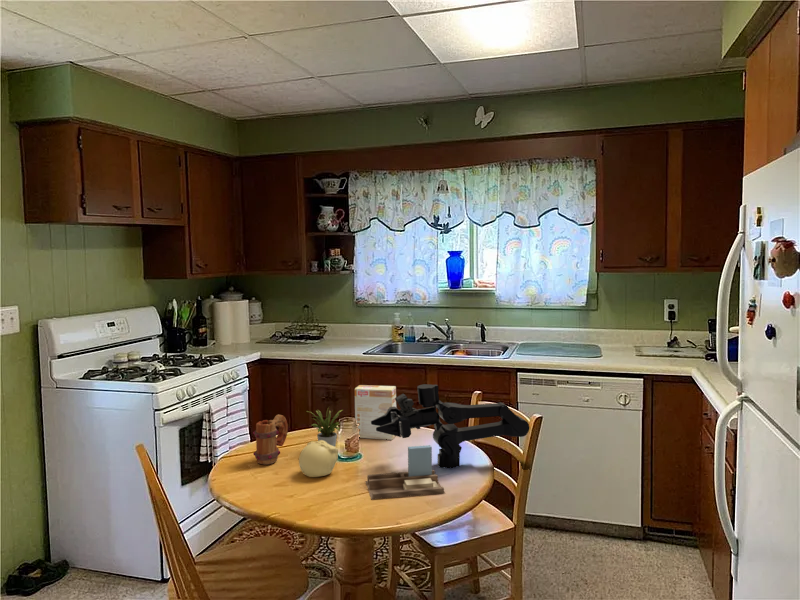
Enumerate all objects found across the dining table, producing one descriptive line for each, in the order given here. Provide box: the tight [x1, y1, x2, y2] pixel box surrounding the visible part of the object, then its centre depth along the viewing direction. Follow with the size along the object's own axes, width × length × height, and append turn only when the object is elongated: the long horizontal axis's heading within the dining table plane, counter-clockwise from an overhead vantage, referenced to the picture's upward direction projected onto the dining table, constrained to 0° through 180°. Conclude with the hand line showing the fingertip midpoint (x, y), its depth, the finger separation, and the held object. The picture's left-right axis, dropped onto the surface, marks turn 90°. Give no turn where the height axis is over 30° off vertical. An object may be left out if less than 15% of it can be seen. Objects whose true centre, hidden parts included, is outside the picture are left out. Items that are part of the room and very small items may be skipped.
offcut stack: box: [403, 478, 439, 490], centre depth 182 cm, size 10×4×2 cm, turn 100°
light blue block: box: [407, 444, 433, 477], centre depth 188 cm, size 7×2×11 cm, turn 100°
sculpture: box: [298, 440, 339, 478], centre depth 198 cm, size 12×12×11 cm
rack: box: [364, 469, 446, 500], centre depth 184 cm, size 22×14×4 cm, turn 100°
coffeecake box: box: [354, 384, 397, 441], centre depth 236 cm, size 15×7×20 cm, turn 77°
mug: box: [252, 414, 289, 466], centre depth 211 cm, size 15×8×15 cm, turn 148°
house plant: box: [307, 406, 344, 447], centre depth 219 cm, size 14×14×16 cm
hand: (373, 426), depth 195 cm, fingers open, 9 cm apart
